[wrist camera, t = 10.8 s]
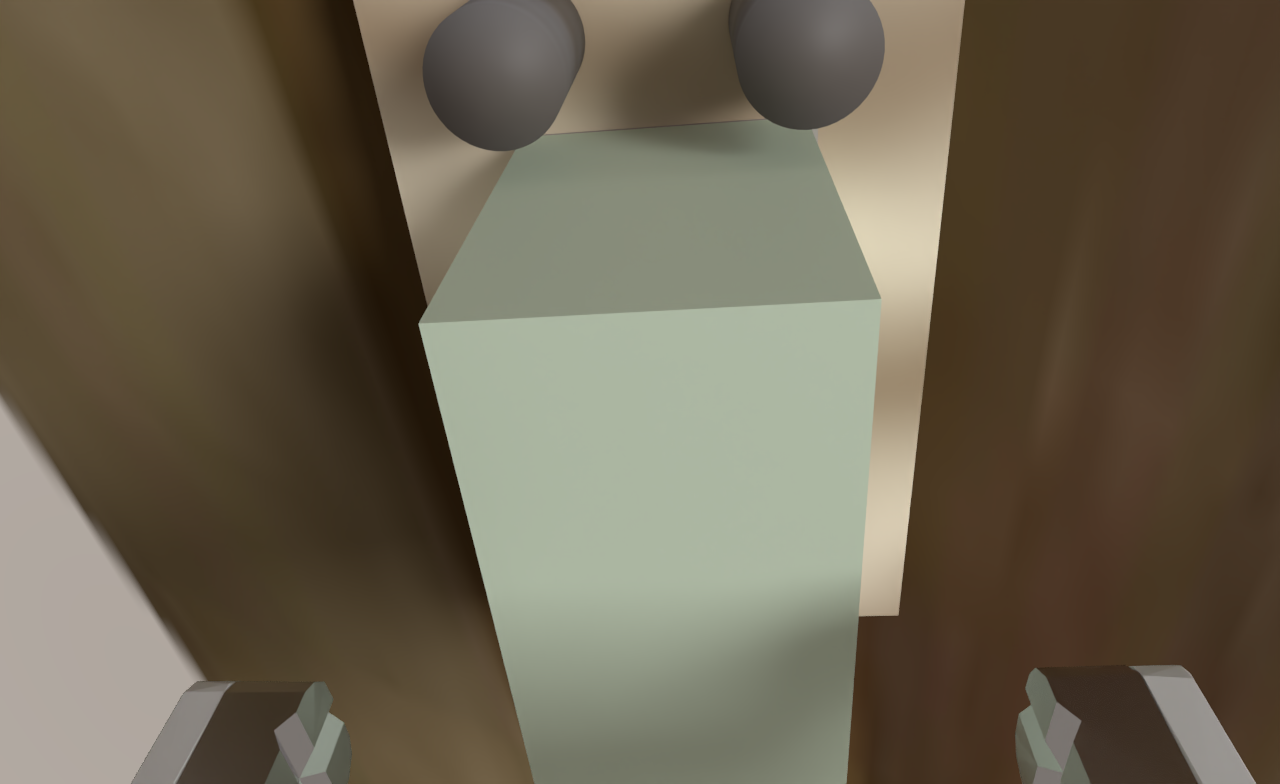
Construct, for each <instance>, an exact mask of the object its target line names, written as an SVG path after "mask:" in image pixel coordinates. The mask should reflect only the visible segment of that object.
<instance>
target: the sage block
mask: <svg viewBox="0 0 1280 784" xmlns="http://www.w3.org/2000/svg"><path fill="white" fill-rule="evenodd" d="M881 302H882V299H881V296H880V294H879V291H878V289H877V287H876V284H875V282H874V279H873V277H872V274H871V272H870V270H869V267H868V265H867V262H866V260H865V257H864V255H863V253H862V250H861V248H860V245H859V243H858V240H857V238H856V236H855V233H854V231H853V228H852V226H851V223H850V221H849V219H848V216H847V214H846V211H845V209H844V207H843V204H842V202H841V199H840V197H839V194H838V192H837V190H836V187H835V185H834V182H833V180H832V177H831V175H830V173H829V170H828V168H827V165H826V163H825V160H824V158H823V156H822V153H821V151H820V148H819V146H818V143H817V141H816V139H815V136H814V134H813V131H812V129H811V130H796V129H789V128H785V127H782V126H779V125H777V124H774V123H772V122H771V121H769V120H755V121H741V122H727V123H713V124H699V125H685V126H671V127H657V128H643V129H629V130H615V131H602V132H588V133H574V134H560V135H546V136H541V137H540V138H539V139H538V140H536V141H535V142H533V143H531V144H530V145H527V146H525V147H523V148H519V149H516V150H515V152H514V153H513V155H512V157H511V159H510V160H509V162H508V164H507V166H506V168H505V169H504V171H503V173H502V175H501V177H500V178H499V180H498V182H497V184H496V186H495V187H494V189H493V191H492V193H491V194H490V196H489V198H488V200H487V202H486V203H485V205H484V207H483V209H482V211H481V212H480V214H479V216H478V218H477V220H476V221H475V223H474V225H473V227H472V229H471V230H470V232H469V234H468V236H467V237H466V239H465V241H464V243H463V245H462V246H461V248H460V250H459V252H458V254H457V255H456V257H455V259H454V261H453V263H452V264H451V266H450V268H449V270H448V271H447V273H446V275H445V277H444V279H443V280H442V282H441V284H440V286H439V288H438V289H437V291H436V293H435V295H434V297H433V298H432V300H431V302H430V304H429V305H428V307H427V309H426V311H425V313H424V314H423V316H422V318H421V320H420V322H419V323H418V324H419V328H420V332H421V336H422V340H423V344H424V348H425V352H426V356H427V360H428V364H429V368H430V372H431V376H432V380H433V384H434V388H435V392H436V396H437V400H438V404H439V408H440V411H441V415H442V419H443V423H444V427H445V431H446V435H447V439H448V443H449V447H450V451H451V455H452V459H453V463H454V467H455V471H456V475H457V479H458V483H459V487H460V491H461V495H462V499H463V502H464V506H465V510H466V514H467V518H468V522H469V526H470V530H471V534H472V538H473V542H474V546H475V550H476V554H477V558H478V562H479V566H480V570H481V574H482V578H483V582H484V586H485V590H486V593H487V597H488V601H489V605H490V609H491V613H492V617H493V621H494V625H495V629H496V633H497V637H498V641H499V645H500V649H501V653H502V657H503V661H504V665H505V669H506V673H507V677H508V681H509V684H510V688H511V692H512V696H513V700H514V704H515V708H516V712H517V716H518V720H519V724H520V728H521V732H522V736H523V740H524V744H525V748H526V752H527V756H528V760H529V764H530V768H531V772H532V776H533V779H534V783H535V784H846V781H847V767H848V753H849V740H850V726H851V712H852V698H853V685H854V671H855V657H856V644H857V630H858V616H859V603H860V589H861V575H862V562H863V548H864V534H865V521H866V507H867V493H868V479H869V466H870V452H871V438H872V425H873V411H874V397H875V384H876V370H877V356H878V343H879V329H880V315H881Z"/></svg>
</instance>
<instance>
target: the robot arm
mask: <svg viewBox="0 0 1280 784" xmlns="http://www.w3.org/2000/svg"><path fill="white" fill-rule="evenodd" d="M1025 689H1026V692H1027V694H1028V697H1029V700H1030V702H1031V706H1029V707H1028V708H1027V709H1025V710H1024V711H1022V712H1021V713H1020V714H1019V717H1018V722H1017V727H1016V732H1015V738H1016V757H1017V762H1018V766H1019V771H1020V775H1021V779H1022V782H1023V784H1256V783H1255V781H1254V780H1253V778H1252V776H1251V775H1250V773H1249V771H1248V770H1247V768H1246V766H1245V765H1244V763H1243V761H1242V759H1241V758H1240V756H1239V754H1238V753H1237V751H1236V749H1235V748H1234V746H1233V744H1232V743H1231V741H1230V739H1229V738H1228V736H1227V734H1226V733H1225V731H1224V729H1223V727H1222V726H1221V724H1220V722H1219V721H1218V719H1217V717H1216V716H1215V714H1214V712H1213V711H1212V709H1211V707H1210V706H1209V704H1208V702H1207V701H1206V699H1205V697H1204V695H1203V694H1202V692H1201V690H1200V689H1199V687H1198V685H1197V684H1196V682H1195V680H1194V679H1193V677H1192V675H1191V674H1190V673H1189V672H1188V671H1187V670H1185V669H1184V668H1183V667H1182V666H1179V665H1155V666H1129V667H1128V666H1126V665H1107V666H1076V667H1045V668H1035V669H1034V670H1033V671H1032V672H1031V673H1030V674H1029V677H1028V681H1027V685H1026V688H1025ZM332 702H333V697H332V695H331V694H330V692H329V690H328V688H327V686H326V684H325V682H285V681H197V682H196V683H195V684H193V685H192V686H191V687H190V688H189V689H188V690H186V691H185V692H184V693H183V695H182V696H181V698H180V700H179V701H178V704H177V705H176V707H175V708H174V710H173V712H172V714H171V715H170V717H169V719H168V721H167V722H166V724H165V726H164V727H163V729H162V731H161V733H160V734H159V736H158V738H157V739H156V741H155V743H154V745H153V746H152V748H151V750H150V752H149V753H148V755H147V757H146V758H145V760H144V762H143V764H142V765H141V767H140V769H139V770H138V773H137V774H136V776H135V777H134V779H133V781H132V783H131V784H347V783H348V780H349V773H350V765H351V756H352V751H351V744H350V736H349V733H348V731H347V729H346V726H345V724H344V722H342V721H341V720H339V719H338V718H336V717H335V716H333V715H332V714H330V713H329V709H330V707H331V704H332Z"/></svg>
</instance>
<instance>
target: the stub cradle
mask: <svg viewBox="0 0 1280 784" xmlns="http://www.w3.org/2000/svg"><path fill="white" fill-rule="evenodd" d="M353 2H354V6H355V10H356V14H357V18H358V22H359V26H360V31H361V35H362V39H363V43H364V47H365V51H366V55H367V59H368V63H369V68H370V72H371V76H372V80H373V84H374V88H375V92H376V96H377V100H378V105H379V109H380V113H381V117H382V121H383V125H384V129H385V133H386V137H387V142H388V146H389V150H390V154H391V158H392V162H393V166H394V170H395V174H396V179H397V183H398V187H399V191H400V195H401V199H402V203H403V207H404V211H405V216H406V220H407V224H408V228H409V232H410V236H411V240H412V244H413V248H414V253H415V257H416V261H417V265H418V269H419V273H420V277H421V281H422V285H423V290H424V294H425V298H426V302H427V306H428V305H429V304H430V302H431V300H432V298H433V297H434V295H435V293H436V291H437V289H438V288H439V286H440V284H441V282H442V280H443V279H444V277H445V275H446V273H447V271H448V270H449V268H450V266H451V264H452V263H453V261H454V259H455V257H456V255H457V254H458V252H459V250H460V248H461V246H462V245H463V243H464V241H465V239H466V237H467V236H468V234H469V232H470V230H471V229H472V227H473V225H474V223H475V221H476V220H477V218H478V216H479V214H480V212H481V211H482V209H483V207H484V205H485V203H486V202H487V200H488V198H489V196H490V194H491V193H492V191H493V189H494V187H495V186H496V184H497V182H498V180H499V178H500V177H501V175H502V173H503V171H504V169H505V168H506V166H507V164H508V162H509V160H510V159H511V157H512V155H513V153H514V152H515V150H516V149H519V148H523V147H525V146H527V145H530V144H531V143H533V142H535V141H536V140H538V139H539V138H540V137H541V136H546V135H560V134H574V133H588V132H602V131H615V130H629V129H643V128H657V127H671V126H685V125H699V124H713V123H727V122H741V121H755V120H769V121H771V122H772V123H774V124H777V125H779V126H782V127H785V128H789V129H796V130H811V129H812V131H813V134H814V136H815V139H816V141H817V143H818V146H819V148H820V151H821V153H822V156H823V158H824V160H825V163H826V165H827V168H828V170H829V173H830V175H831V177H832V180H833V182H834V185H835V187H836V190H837V192H838V194H839V197H840V199H841V202H842V204H843V207H844V209H845V211H846V214H847V216H848V219H849V221H850V223H851V226H852V228H853V231H854V233H855V236H856V238H857V240H858V243H859V245H860V248H861V250H862V253H863V255H864V257H865V260H866V262H867V265H868V267H869V270H870V272H871V274H872V277H873V279H874V282H875V284H876V287H877V289H878V291H879V294H880V296H881V299H882V302H881V315H880V329H879V343H878V356H877V370H876V384H875V397H874V411H873V425H872V438H871V452H870V466H869V479H868V493H867V507H866V521H865V534H864V548H863V562H862V575H861V589H860V603H859V616H887V615H898V613H899V604H900V594H901V585H902V576H903V567H904V557H905V548H906V539H907V530H908V521H909V511H910V502H911V493H912V484H913V474H914V465H915V456H916V447H917V437H918V428H919V419H920V410H921V401H922V391H923V382H924V373H925V364H926V354H927V345H928V336H929V327H930V317H931V308H932V299H933V290H934V281H935V271H936V262H937V253H938V244H939V234H940V225H941V216H942V207H943V198H944V188H945V179H946V170H947V161H948V151H949V142H950V133H951V124H952V114H953V105H954V96H955V87H956V78H957V68H958V59H959V50H960V41H961V31H962V22H963V13H964V4H965V0H353Z"/></svg>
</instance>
